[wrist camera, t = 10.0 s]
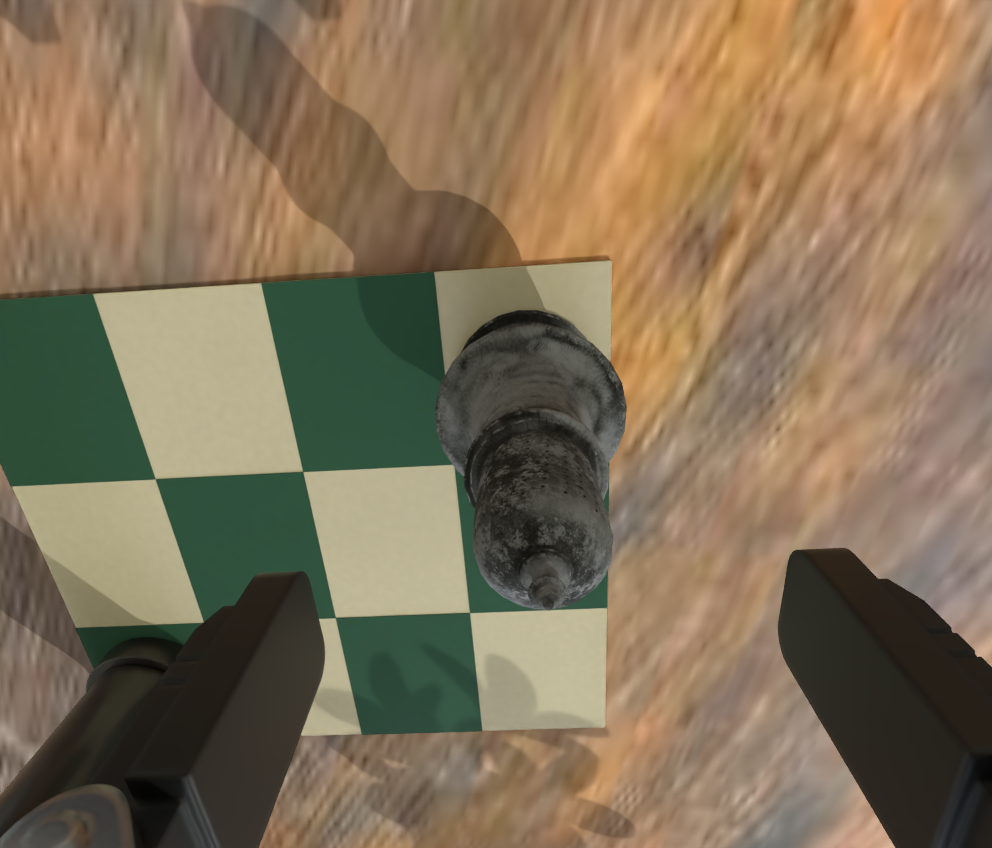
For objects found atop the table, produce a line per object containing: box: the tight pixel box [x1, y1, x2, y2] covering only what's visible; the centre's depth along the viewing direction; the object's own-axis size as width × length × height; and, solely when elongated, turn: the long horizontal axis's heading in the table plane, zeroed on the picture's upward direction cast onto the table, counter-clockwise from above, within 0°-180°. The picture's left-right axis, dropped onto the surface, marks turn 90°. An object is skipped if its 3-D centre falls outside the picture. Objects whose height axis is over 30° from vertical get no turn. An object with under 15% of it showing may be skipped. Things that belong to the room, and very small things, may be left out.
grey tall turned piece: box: [435, 310, 627, 611], centre depth 15 cm, size 6×6×12 cm
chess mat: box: [0, 260, 612, 736], centre depth 24 cm, size 24×22×1 cm
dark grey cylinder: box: [0, 637, 183, 838], centre depth 22 cm, size 5×5×10 cm
